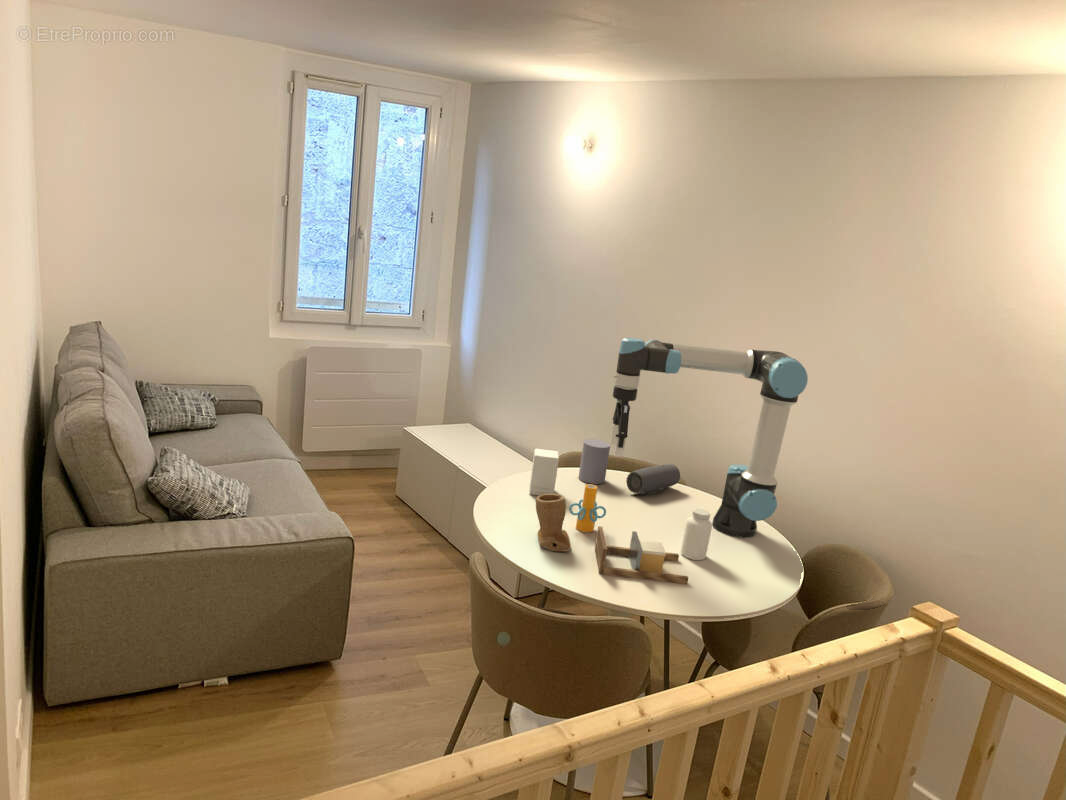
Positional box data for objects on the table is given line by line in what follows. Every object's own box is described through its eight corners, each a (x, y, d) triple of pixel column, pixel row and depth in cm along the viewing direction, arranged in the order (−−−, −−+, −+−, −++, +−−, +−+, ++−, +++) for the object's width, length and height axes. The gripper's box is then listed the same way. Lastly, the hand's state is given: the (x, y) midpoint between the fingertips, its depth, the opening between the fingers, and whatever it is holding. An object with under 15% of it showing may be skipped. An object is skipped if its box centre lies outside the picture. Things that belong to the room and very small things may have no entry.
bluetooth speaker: (660, 483, 319) (664, 459, 316) (679, 491, 312) (683, 467, 310) (623, 491, 303) (627, 466, 301) (641, 500, 297) (646, 474, 294)
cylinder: (590, 539, 255) (596, 495, 252) (562, 529, 260) (568, 486, 257) (607, 528, 266) (614, 486, 262) (580, 519, 271) (586, 477, 267)
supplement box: (553, 497, 287) (559, 458, 284) (528, 494, 287) (534, 455, 284) (553, 489, 296) (558, 450, 293) (529, 486, 296) (534, 447, 292)
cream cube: (657, 564, 244) (661, 542, 242) (661, 574, 237) (665, 552, 235) (634, 561, 244) (638, 539, 242) (637, 572, 237) (641, 550, 235)
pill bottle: (705, 563, 249) (714, 518, 245) (680, 557, 250) (688, 513, 247) (705, 553, 257) (714, 509, 253) (680, 548, 258) (688, 504, 254)
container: (576, 481, 307) (582, 444, 304) (579, 473, 317) (585, 437, 314) (603, 486, 306) (609, 449, 303) (605, 478, 316) (611, 442, 312)
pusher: (632, 555, 247) (636, 531, 245) (638, 575, 234) (642, 550, 232) (628, 555, 247) (632, 531, 245) (634, 574, 234) (638, 549, 232)
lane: (677, 559, 249) (681, 536, 247) (687, 584, 233) (692, 559, 231) (594, 550, 248) (598, 526, 246) (599, 574, 232) (603, 548, 230)
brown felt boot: (530, 530, 256) (536, 486, 253) (567, 534, 257) (573, 491, 253) (531, 550, 241) (537, 504, 238) (570, 555, 242) (577, 509, 238)
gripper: (610, 376, 265) (601, 437, 271) (618, 394, 241) (608, 460, 246) (633, 379, 266) (623, 440, 271) (642, 397, 241) (632, 463, 247)
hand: (616, 450), depth 259 cm, fingers open, 13 cm apart
